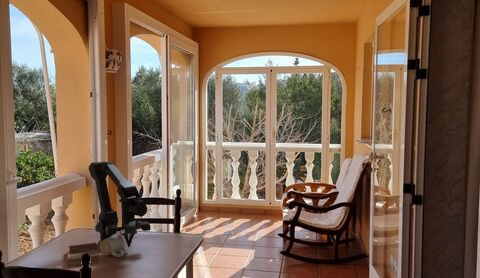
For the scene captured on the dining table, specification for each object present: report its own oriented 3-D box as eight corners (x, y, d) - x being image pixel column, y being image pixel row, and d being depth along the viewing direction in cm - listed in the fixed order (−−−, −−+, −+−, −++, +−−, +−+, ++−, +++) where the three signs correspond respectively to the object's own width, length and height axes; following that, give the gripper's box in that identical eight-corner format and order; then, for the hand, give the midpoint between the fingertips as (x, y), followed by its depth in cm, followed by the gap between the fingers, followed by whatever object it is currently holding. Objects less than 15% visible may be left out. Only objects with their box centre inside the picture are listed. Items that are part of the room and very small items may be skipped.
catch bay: (68, 252, 171) (67, 245, 171) (96, 248, 176) (96, 242, 176) (67, 266, 155) (67, 259, 155) (98, 262, 160) (98, 255, 160)
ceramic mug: (98, 254, 168) (98, 237, 168) (112, 249, 176) (112, 232, 175) (116, 259, 163) (116, 242, 163) (129, 253, 171) (130, 236, 170)
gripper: (108, 219, 161) (108, 256, 162) (152, 214, 169) (153, 249, 170) (105, 213, 171) (106, 247, 172) (147, 209, 179) (148, 242, 180)
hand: (128, 246), depth 173 cm, fingers closed
